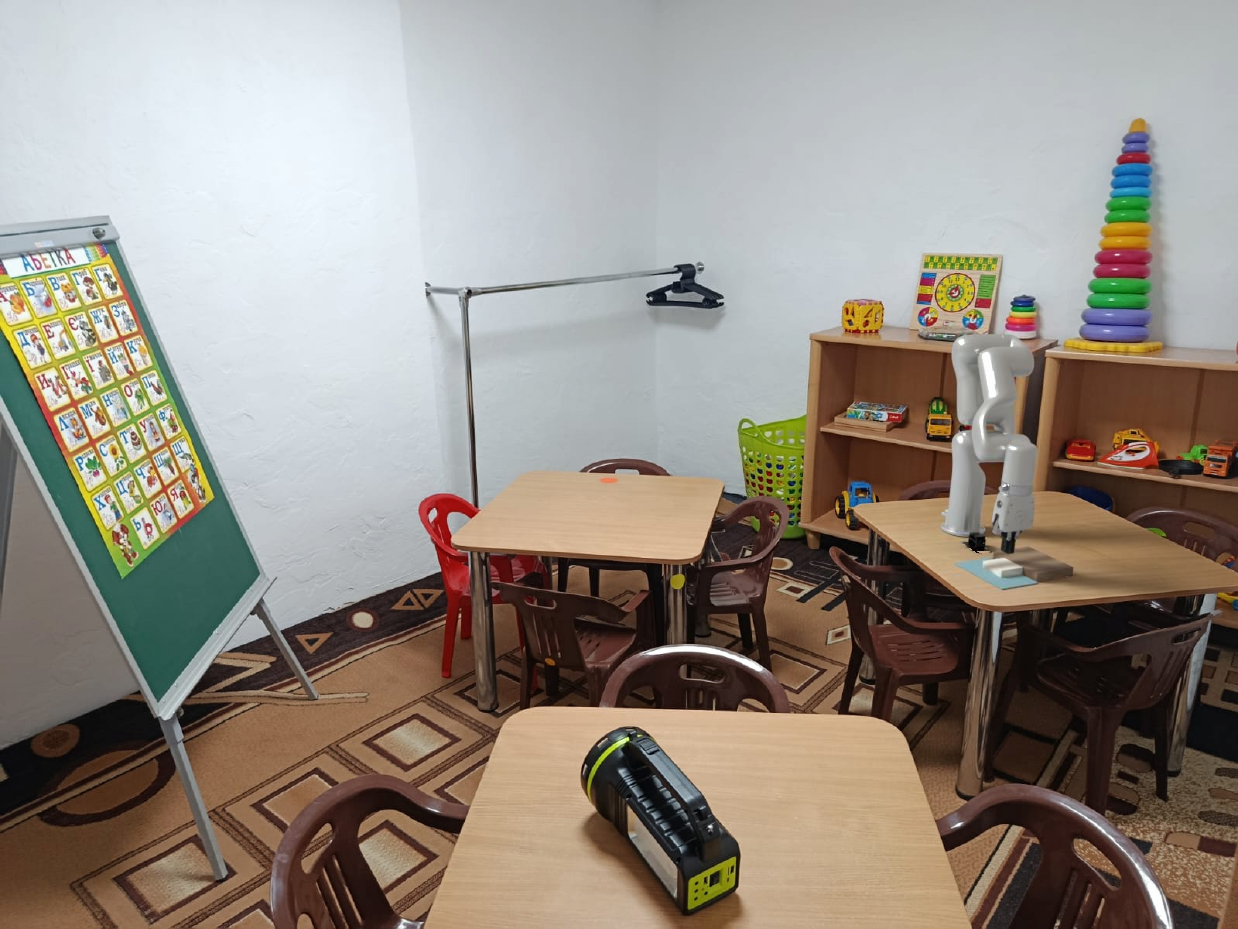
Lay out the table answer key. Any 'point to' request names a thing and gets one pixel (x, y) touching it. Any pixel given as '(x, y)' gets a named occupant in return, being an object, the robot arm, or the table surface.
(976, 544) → the black irregular piece
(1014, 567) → the tile
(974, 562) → the mat
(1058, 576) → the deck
